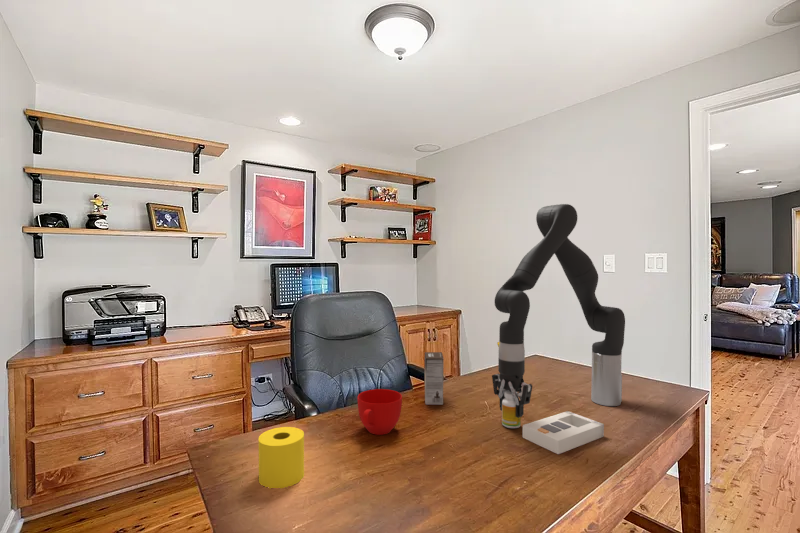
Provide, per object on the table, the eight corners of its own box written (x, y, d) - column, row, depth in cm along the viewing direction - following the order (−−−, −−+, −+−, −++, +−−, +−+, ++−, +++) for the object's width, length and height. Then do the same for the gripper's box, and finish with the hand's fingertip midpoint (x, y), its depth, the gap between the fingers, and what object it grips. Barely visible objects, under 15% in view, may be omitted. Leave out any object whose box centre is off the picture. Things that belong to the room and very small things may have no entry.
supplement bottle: (521, 429, 120) (521, 396, 120) (502, 428, 122) (502, 395, 121) (519, 422, 126) (520, 390, 125) (501, 420, 127) (501, 389, 127)
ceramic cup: (342, 441, 113) (342, 405, 113) (368, 418, 129) (368, 386, 129) (387, 449, 109) (387, 411, 108) (408, 424, 124) (408, 391, 124)
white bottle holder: (567, 422, 127) (567, 409, 126) (603, 436, 117) (603, 422, 117) (522, 437, 116) (522, 423, 116) (558, 454, 106) (558, 439, 106)
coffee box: (424, 395, 150) (424, 351, 150) (441, 395, 150) (442, 351, 150) (425, 404, 141) (425, 357, 141) (443, 405, 141) (444, 358, 141)
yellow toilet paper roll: (260, 492, 89) (260, 449, 88) (256, 470, 98) (256, 431, 97) (307, 482, 93) (307, 441, 92) (299, 462, 102) (299, 424, 101)
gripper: (539, 360, 119) (539, 418, 120) (502, 350, 131) (502, 403, 132) (521, 364, 115) (521, 424, 116) (485, 353, 127) (484, 408, 128)
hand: (511, 413), depth 124 cm, fingers closed on supplement bottle, 5 cm apart
